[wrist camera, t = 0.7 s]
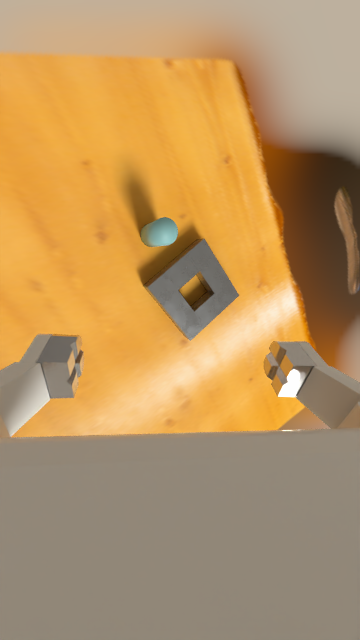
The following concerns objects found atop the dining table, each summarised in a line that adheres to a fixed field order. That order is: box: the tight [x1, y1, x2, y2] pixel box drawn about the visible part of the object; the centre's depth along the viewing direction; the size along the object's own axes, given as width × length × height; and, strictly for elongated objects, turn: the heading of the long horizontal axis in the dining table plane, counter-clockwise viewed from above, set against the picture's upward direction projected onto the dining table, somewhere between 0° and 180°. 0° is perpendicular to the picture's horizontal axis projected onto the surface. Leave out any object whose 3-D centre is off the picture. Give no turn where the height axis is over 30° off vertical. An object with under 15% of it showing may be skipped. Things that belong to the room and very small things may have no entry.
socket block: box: [143, 239, 239, 341], centre depth 48 cm, size 14×14×3 cm
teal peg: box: [141, 217, 178, 247], centre depth 41 cm, size 4×4×8 cm
